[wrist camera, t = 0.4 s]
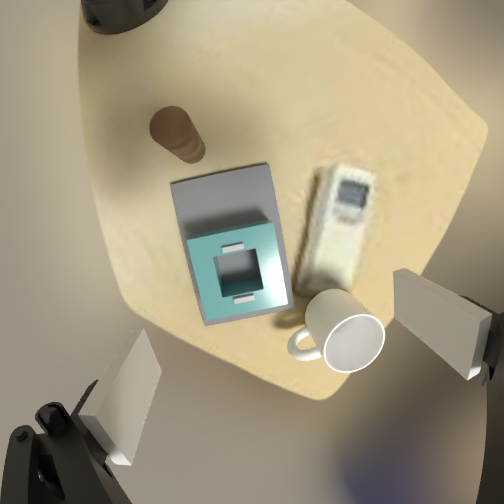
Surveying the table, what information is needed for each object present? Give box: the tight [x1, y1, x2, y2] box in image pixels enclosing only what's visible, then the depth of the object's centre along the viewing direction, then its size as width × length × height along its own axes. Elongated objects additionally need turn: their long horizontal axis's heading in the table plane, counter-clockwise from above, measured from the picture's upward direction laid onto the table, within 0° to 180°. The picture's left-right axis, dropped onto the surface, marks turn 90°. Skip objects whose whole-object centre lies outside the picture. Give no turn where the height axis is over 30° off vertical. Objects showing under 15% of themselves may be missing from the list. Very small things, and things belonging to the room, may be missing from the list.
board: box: [171, 164, 295, 326], centre depth 38 cm, size 20×13×1 cm, turn 11°
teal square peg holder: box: [187, 219, 288, 320], centre depth 35 cm, size 10×10×6 cm
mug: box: [287, 289, 385, 373], centre depth 36 cm, size 12×8×10 cm
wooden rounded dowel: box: [150, 106, 205, 163], centre depth 29 cm, size 4×4×14 cm
